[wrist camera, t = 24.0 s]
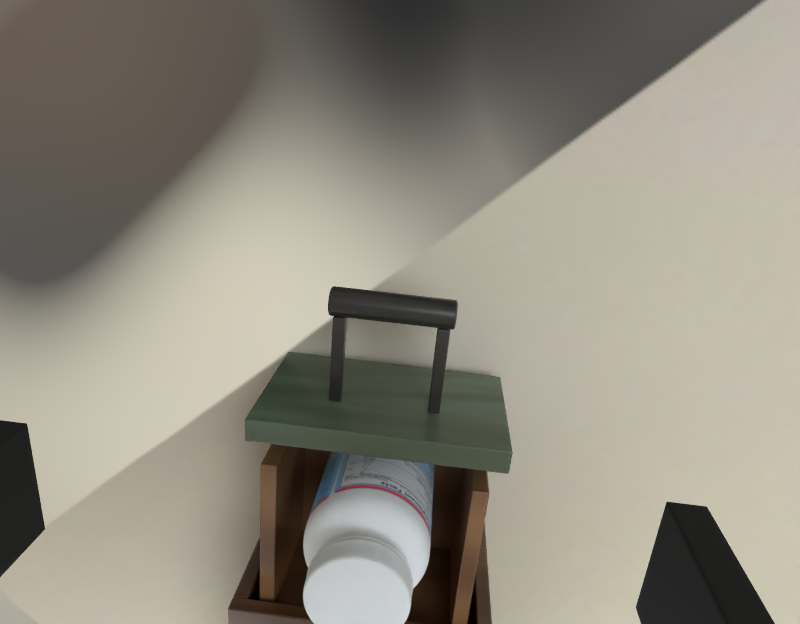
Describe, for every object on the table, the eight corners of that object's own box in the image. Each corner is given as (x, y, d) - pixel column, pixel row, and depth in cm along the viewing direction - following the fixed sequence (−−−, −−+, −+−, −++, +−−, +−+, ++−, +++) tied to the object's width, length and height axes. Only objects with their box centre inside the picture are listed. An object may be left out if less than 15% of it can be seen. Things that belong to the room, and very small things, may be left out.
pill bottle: (375, 512, 37) (344, 678, 27) (313, 441, 36) (254, 586, 25) (455, 466, 36) (456, 622, 25) (393, 389, 34) (367, 521, 24)
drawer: (290, 254, 33) (244, 299, 26) (516, 278, 33) (534, 332, 25) (283, 525, 39) (244, 622, 32) (472, 549, 39) (476, 655, 32)
